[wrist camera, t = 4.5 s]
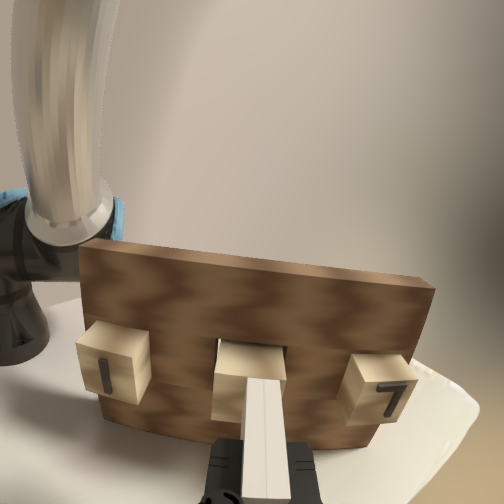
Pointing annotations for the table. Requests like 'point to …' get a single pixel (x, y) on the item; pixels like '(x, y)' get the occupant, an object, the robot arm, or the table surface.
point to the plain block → (242, 375)
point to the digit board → (245, 339)
